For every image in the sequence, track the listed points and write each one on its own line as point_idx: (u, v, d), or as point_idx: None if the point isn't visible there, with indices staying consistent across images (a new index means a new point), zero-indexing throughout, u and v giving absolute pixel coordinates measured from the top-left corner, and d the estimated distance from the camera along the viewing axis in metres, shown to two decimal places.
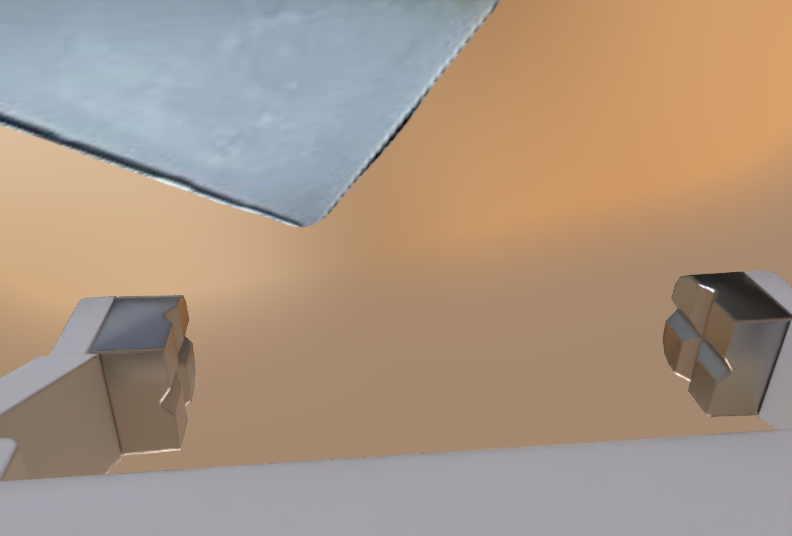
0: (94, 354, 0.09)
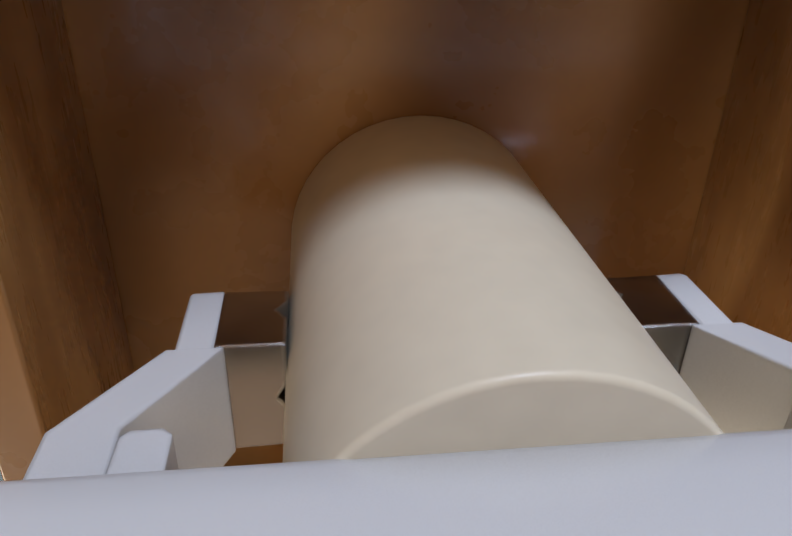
0: (219, 348, 0.09)
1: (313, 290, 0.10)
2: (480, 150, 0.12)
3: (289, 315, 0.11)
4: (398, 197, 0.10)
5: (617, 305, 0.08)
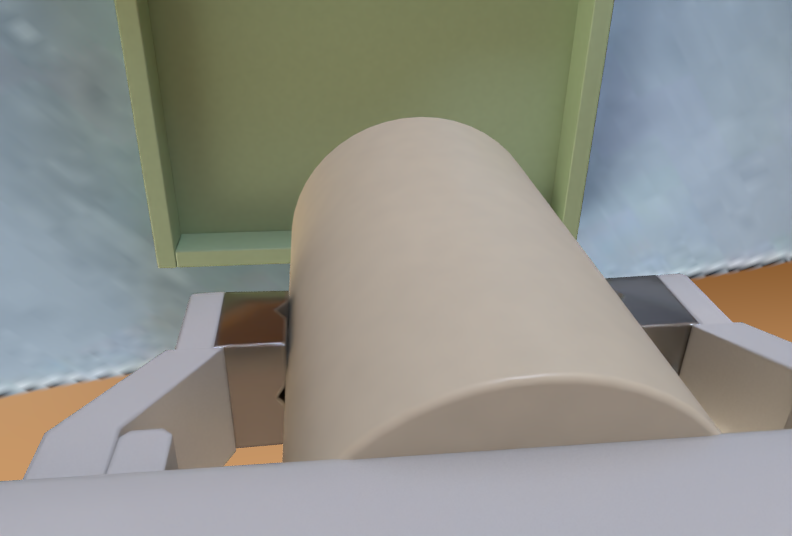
0: (219, 348, 0.09)
1: (313, 293, 0.10)
2: (480, 152, 0.12)
3: (289, 317, 0.11)
4: (398, 199, 0.10)
5: (617, 307, 0.08)
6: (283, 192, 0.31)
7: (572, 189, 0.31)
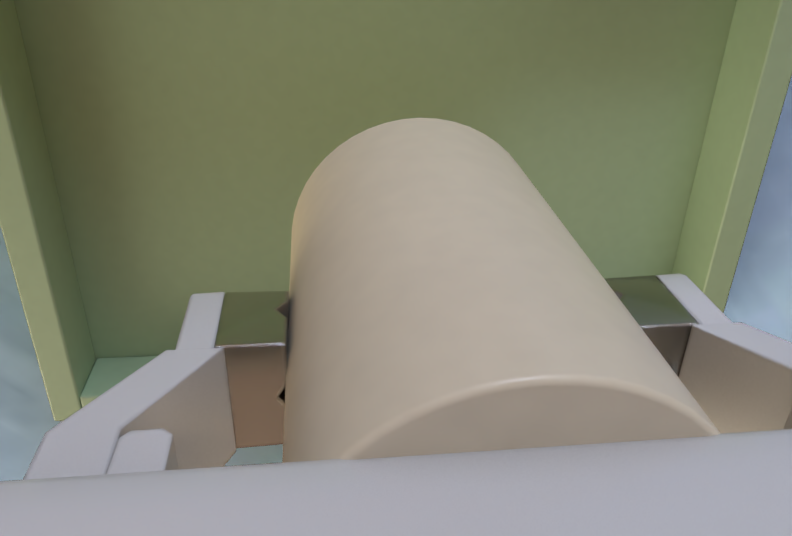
0: (219, 348, 0.09)
1: (313, 293, 0.10)
2: (480, 152, 0.12)
3: (289, 318, 0.11)
4: (398, 199, 0.10)
5: (617, 308, 0.08)
6: None
7: (710, 294, 0.20)
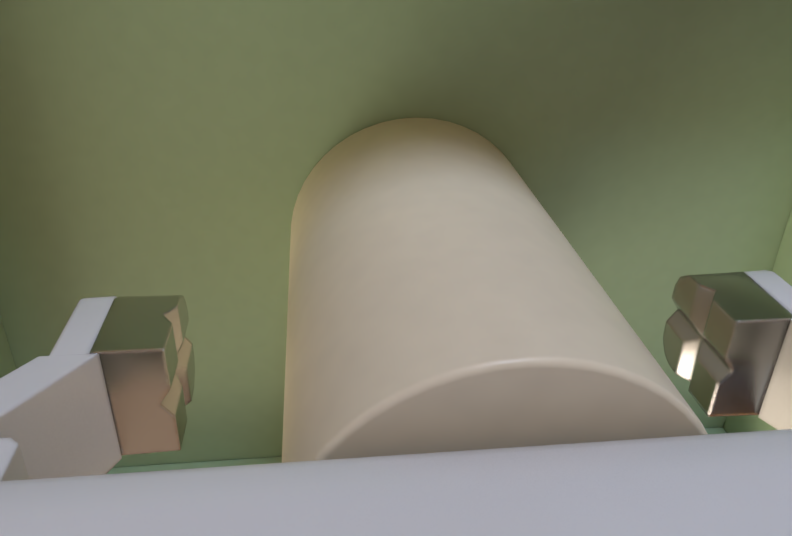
0: (94, 354, 0.09)
1: (311, 286, 0.10)
2: (472, 151, 0.12)
3: (288, 310, 0.11)
4: (393, 196, 0.10)
5: (599, 298, 0.09)
6: (239, 397, 0.16)
7: None
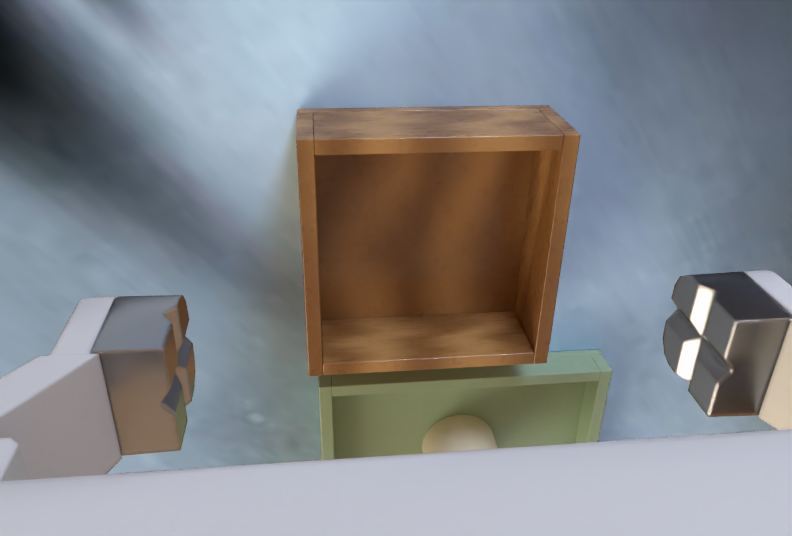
0: (94, 354, 0.09)
1: None
2: (476, 432, 0.46)
3: None
4: None
5: None
6: None
7: None
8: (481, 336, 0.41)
